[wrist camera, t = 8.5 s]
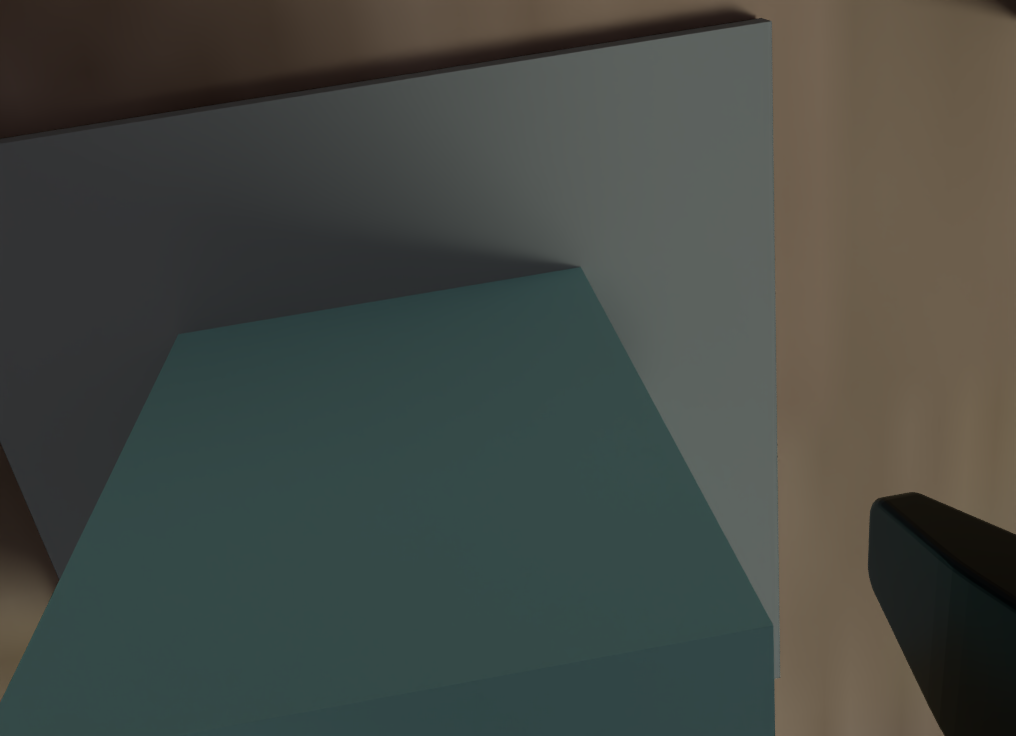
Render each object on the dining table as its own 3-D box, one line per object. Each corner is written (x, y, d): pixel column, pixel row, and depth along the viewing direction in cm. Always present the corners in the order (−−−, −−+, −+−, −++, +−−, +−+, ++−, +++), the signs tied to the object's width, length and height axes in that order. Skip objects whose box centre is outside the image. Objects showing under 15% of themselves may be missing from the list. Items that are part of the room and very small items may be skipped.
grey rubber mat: (772, 662, 14) (780, 677, 14) (156, 778, 14) (152, 796, 13) (761, 17, 10) (771, 21, 10) (-106, 156, 10) (-119, 162, 10)
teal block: (614, 584, 13) (780, 1076, 7) (276, 645, 13) (193, 1196, 7) (581, 266, 11) (773, 624, 5) (179, 334, 11) (-35, 776, 5)
